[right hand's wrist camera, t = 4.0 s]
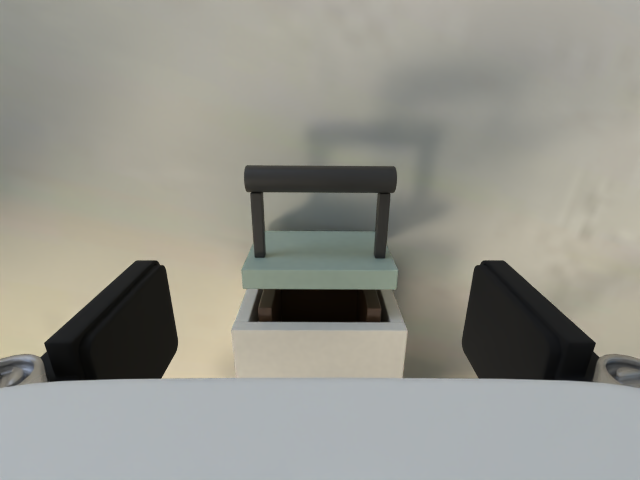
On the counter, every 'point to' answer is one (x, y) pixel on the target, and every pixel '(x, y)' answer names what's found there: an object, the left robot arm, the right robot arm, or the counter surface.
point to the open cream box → (319, 344)
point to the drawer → (320, 249)
